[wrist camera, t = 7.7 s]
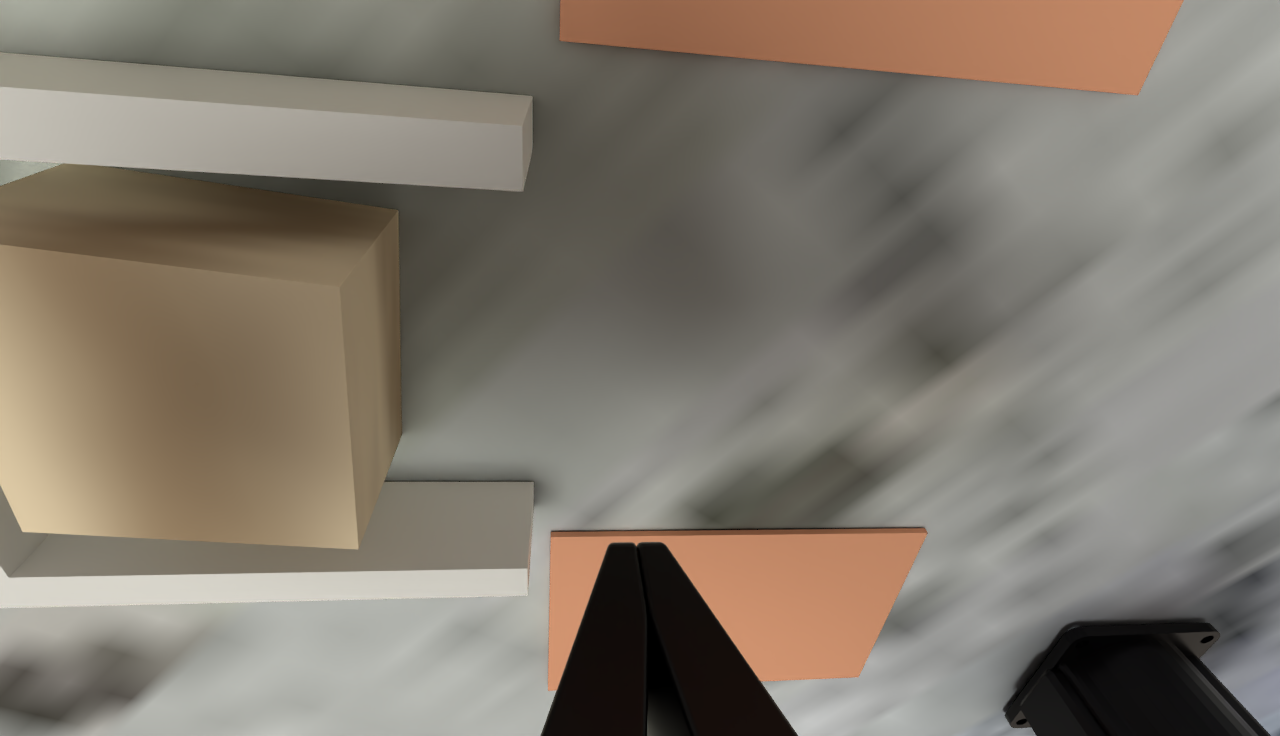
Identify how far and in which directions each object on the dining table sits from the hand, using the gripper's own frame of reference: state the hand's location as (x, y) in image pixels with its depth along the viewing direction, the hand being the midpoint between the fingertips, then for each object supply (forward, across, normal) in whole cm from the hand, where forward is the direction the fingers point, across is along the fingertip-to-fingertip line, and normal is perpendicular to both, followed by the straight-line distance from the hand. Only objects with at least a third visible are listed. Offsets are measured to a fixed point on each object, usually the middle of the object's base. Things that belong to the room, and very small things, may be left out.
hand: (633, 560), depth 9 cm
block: (+7, +8, 0) cm, 11 cm away
